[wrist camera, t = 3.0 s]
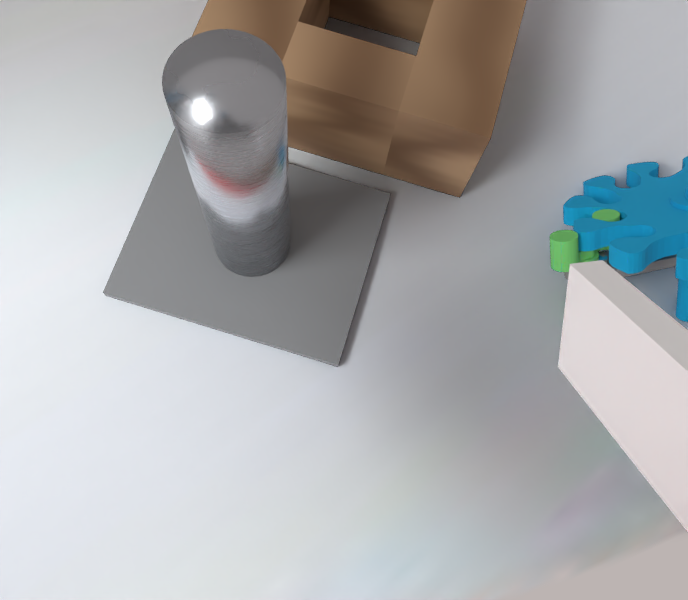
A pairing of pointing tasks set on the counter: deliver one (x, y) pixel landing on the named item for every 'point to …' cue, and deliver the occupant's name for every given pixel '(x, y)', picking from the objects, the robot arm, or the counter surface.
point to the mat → (262, 291)
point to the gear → (629, 226)
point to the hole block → (387, 79)
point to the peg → (235, 143)
